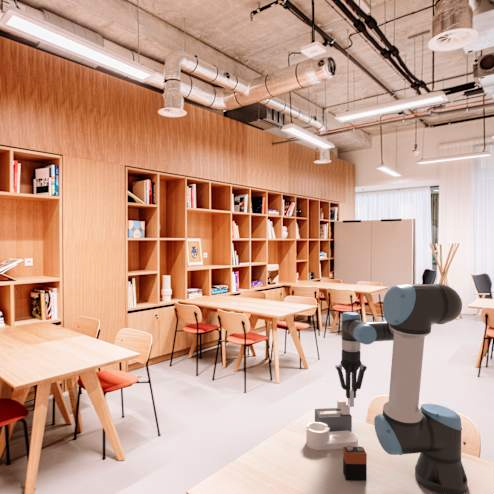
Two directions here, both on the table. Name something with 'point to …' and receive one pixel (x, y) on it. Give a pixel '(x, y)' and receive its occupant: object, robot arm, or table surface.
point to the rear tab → (340, 403)
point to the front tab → (345, 409)
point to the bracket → (328, 437)
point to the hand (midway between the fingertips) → (350, 405)
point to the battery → (354, 463)
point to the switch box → (334, 419)
